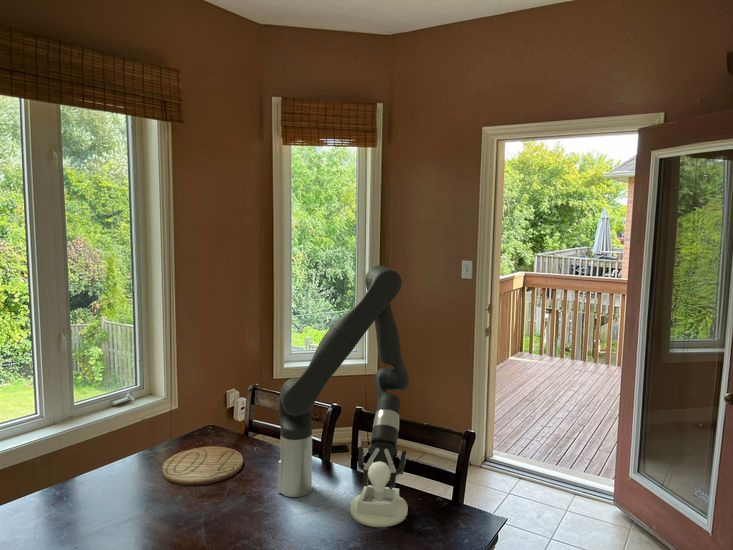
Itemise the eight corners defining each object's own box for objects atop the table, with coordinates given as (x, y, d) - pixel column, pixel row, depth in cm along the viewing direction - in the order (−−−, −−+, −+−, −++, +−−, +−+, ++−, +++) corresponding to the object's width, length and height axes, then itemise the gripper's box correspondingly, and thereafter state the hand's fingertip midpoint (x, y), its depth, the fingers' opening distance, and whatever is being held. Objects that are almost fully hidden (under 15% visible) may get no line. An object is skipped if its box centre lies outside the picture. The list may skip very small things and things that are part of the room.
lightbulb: (388, 508, 142) (389, 468, 141) (365, 505, 143) (365, 466, 142) (391, 496, 148) (392, 458, 147) (369, 493, 149) (370, 456, 148)
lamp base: (343, 523, 139) (344, 506, 139) (356, 493, 155) (356, 478, 154) (403, 530, 136) (404, 513, 136) (410, 499, 152) (410, 484, 151)
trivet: (250, 452, 183) (250, 446, 183) (232, 487, 158) (232, 481, 158) (178, 451, 183) (178, 446, 183) (149, 486, 158) (149, 480, 158)
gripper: (359, 421, 152) (350, 479, 142) (409, 425, 149) (403, 485, 139) (363, 432, 158) (354, 488, 147) (410, 436, 155) (405, 494, 145)
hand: (378, 486), depth 143 cm, fingers closed on lightbulb, 6 cm apart
